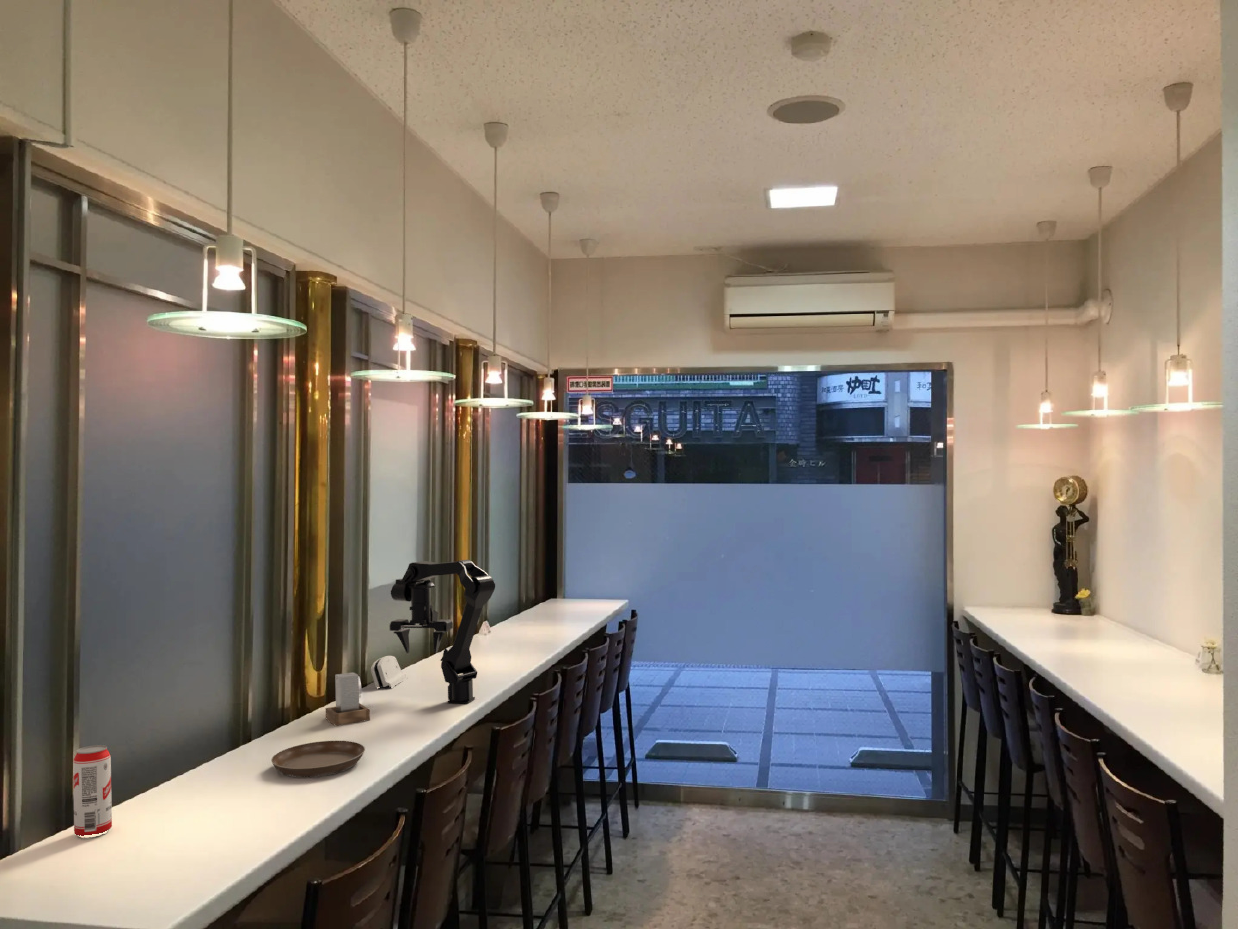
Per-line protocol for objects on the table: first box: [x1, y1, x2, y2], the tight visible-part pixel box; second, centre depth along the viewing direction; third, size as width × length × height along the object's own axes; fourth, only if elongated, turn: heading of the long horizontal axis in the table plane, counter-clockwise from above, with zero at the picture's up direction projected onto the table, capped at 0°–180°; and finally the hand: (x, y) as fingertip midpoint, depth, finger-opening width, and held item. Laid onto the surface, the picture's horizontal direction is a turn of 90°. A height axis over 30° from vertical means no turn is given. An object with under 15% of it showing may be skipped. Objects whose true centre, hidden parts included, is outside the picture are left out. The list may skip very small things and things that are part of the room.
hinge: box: [370, 655, 408, 688], centre depth 306 cm, size 17×5×10 cm, turn 175°
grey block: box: [334, 671, 360, 713], centre depth 259 cm, size 5×5×12 cm
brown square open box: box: [325, 702, 371, 726], centre depth 259 cm, size 10×10×3 cm
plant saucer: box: [271, 740, 366, 778], centre depth 216 cm, size 21×21×3 cm
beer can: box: [72, 744, 113, 836], centre depth 177 cm, size 6×6×16 cm
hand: (421, 653), depth 287 cm, fingers open, 9 cm apart
